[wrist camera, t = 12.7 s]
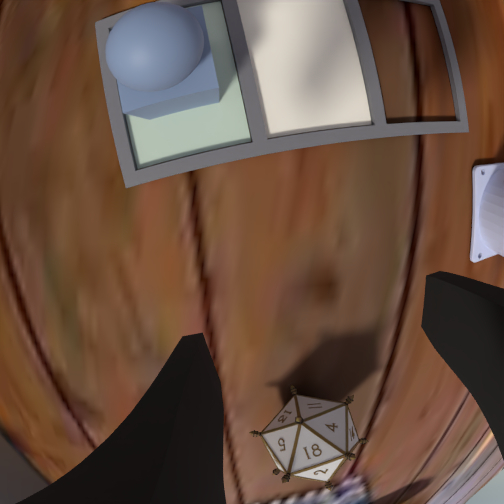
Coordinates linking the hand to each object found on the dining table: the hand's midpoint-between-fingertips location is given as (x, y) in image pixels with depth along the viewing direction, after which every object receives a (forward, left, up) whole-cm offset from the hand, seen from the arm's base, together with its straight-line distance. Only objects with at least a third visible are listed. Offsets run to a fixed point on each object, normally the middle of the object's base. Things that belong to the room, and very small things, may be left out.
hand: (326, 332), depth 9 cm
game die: (0, +16, -11) cm, 19 cm away
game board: (-4, -10, -10) cm, 15 cm away
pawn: (+4, -10, -10) cm, 15 cm away
